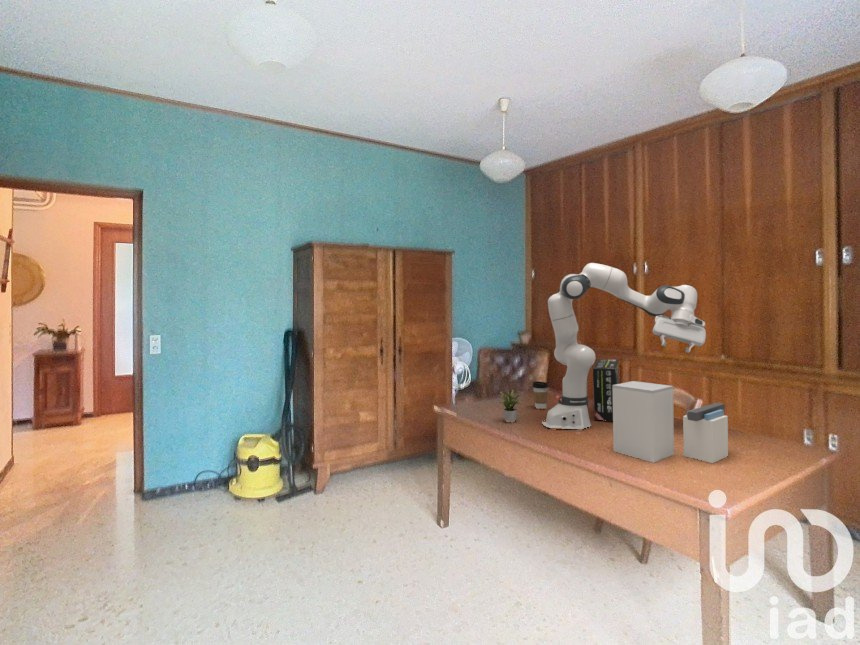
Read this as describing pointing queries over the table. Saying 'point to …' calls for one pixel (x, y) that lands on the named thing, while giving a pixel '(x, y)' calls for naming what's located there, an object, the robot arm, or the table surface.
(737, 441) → the table surface
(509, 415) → the house plant
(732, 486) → the table surface
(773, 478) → the table surface
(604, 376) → the router box
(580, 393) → the robot arm
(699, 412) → the dark grey bar
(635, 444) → the tall stand
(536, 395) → the coffee cup
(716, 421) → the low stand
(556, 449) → the table surface
